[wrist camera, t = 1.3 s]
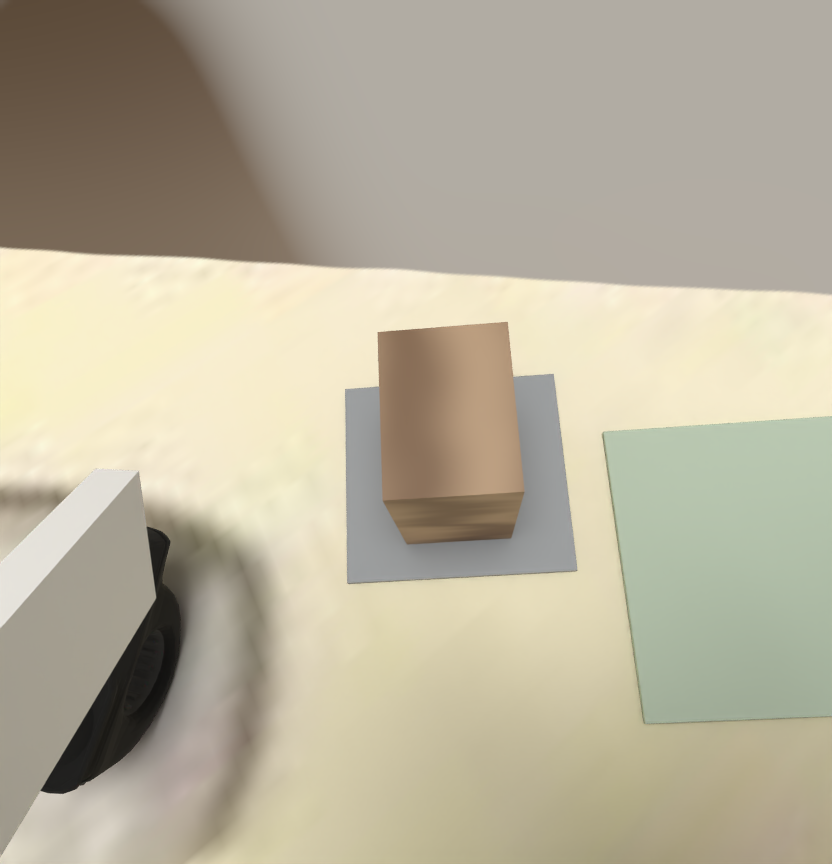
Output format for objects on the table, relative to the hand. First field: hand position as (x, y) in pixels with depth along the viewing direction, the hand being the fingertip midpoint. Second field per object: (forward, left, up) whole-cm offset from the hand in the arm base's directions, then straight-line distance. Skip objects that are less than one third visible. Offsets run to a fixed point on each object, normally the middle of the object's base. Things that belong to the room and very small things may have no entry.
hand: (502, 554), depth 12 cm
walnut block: (+1, -9, -27) cm, 28 cm away
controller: (+19, 0, -27) cm, 33 cm away
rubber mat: (-15, -3, -27) cm, 31 cm away
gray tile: (+1, -9, -27) cm, 28 cm away
